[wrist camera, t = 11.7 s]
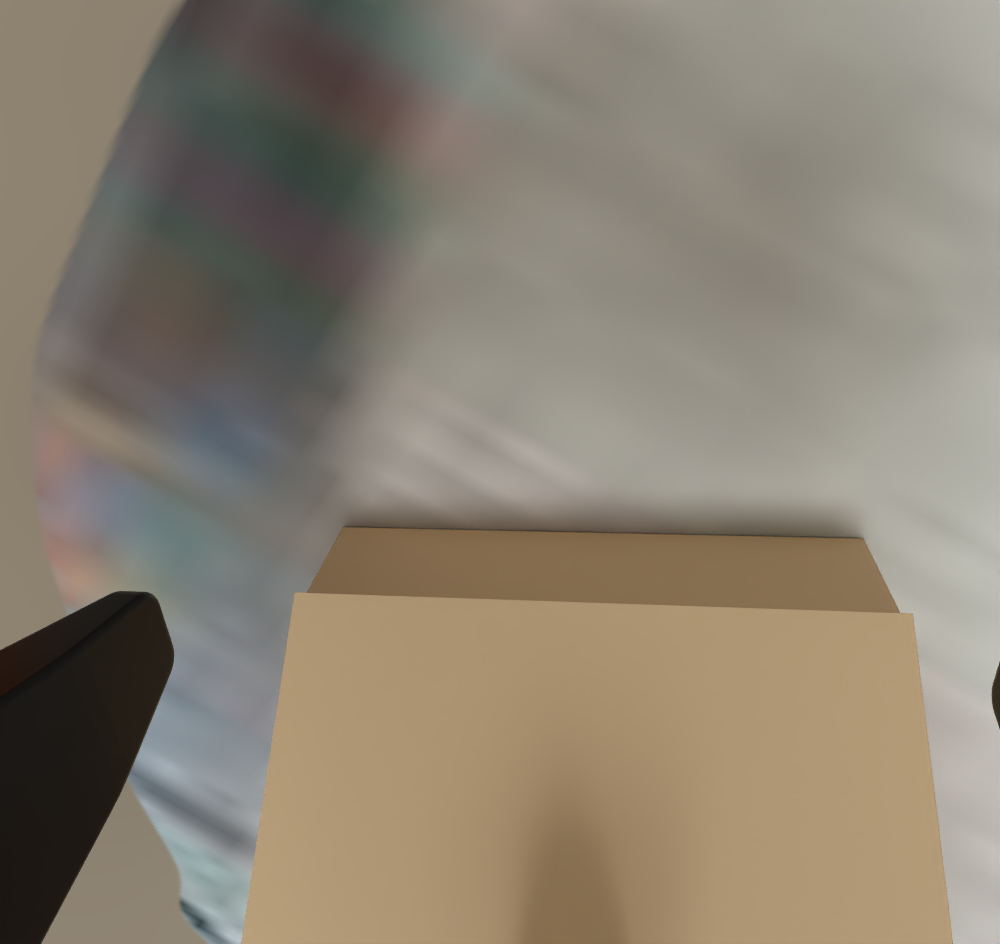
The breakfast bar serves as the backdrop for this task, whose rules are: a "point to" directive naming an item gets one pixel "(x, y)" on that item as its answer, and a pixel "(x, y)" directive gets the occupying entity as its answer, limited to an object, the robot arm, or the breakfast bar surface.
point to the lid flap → (596, 777)
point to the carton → (607, 568)
